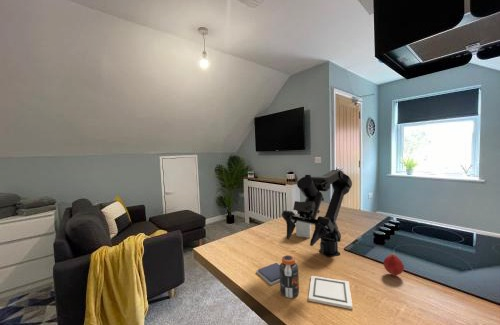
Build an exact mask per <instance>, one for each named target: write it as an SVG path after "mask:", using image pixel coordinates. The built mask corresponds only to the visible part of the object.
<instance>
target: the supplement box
mask: <svg viewBox="0 0 500 325" xmlns="http://www.w3.org/2000/svg"><path fill="white" fill-rule="evenodd" d="M295 215H296V216H300V215H299V214H298V213H297V211H296V212H295ZM295 225H296V226H295V232H296V233H295V236H296V237H300V238H306V239H309V238H311V235H312V224H309V223H305V222H300V221H297V222H296V223H295Z"/></svg>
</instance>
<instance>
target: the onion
mask: <svg viewBox="0 0 500 325" xmlns="http://www.w3.org/2000/svg"><path fill="white" fill-rule="evenodd" d="M383 266H384V269H385V270H386V271H387V273H389V274H390V275H392V277H396V276H398V275H401V274H402V273H403V272H404V269H405V267H404V263H403V262H402V260H401V259H400V258H399V257H398V256H396V254H395V253H391V254H389V255H387V256H386V257H385V258H384V260H383Z"/></svg>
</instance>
